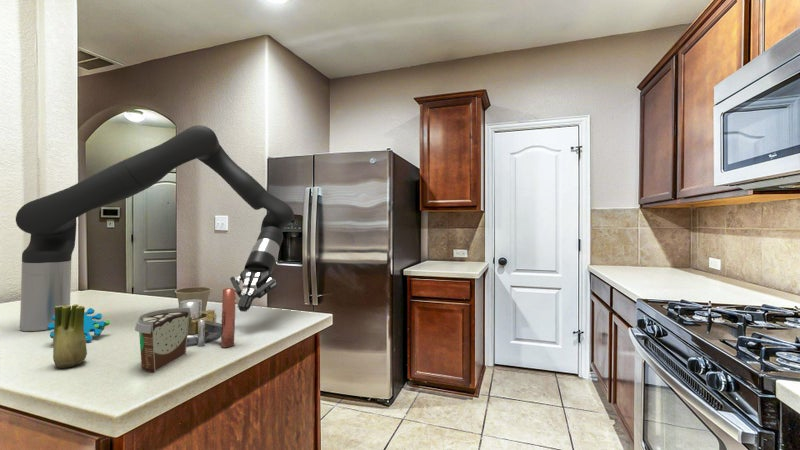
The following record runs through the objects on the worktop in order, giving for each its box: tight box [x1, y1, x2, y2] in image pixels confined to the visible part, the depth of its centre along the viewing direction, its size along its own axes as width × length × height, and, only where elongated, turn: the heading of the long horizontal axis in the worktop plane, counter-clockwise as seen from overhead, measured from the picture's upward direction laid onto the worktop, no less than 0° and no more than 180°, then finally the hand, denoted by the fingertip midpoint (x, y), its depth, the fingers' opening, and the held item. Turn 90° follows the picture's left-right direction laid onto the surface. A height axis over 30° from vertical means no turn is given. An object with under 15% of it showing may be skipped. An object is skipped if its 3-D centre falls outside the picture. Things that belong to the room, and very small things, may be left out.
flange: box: [180, 299, 221, 348], centre depth 87 cm, size 16×14×9 cm
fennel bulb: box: [52, 303, 88, 369], centre depth 70 cm, size 6×5×12 cm
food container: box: [134, 307, 191, 374], centre depth 72 cm, size 12×6×10 cm, turn 178°
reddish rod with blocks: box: [188, 287, 237, 348], centre depth 86 cm, size 20×11×13 cm, turn 67°
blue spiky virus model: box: [47, 307, 111, 343], centre depth 84 cm, size 11×6×10 cm
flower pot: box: [174, 286, 212, 311], centre depth 104 cm, size 9×9×9 cm
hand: (242, 309), depth 91 cm, fingers closed
